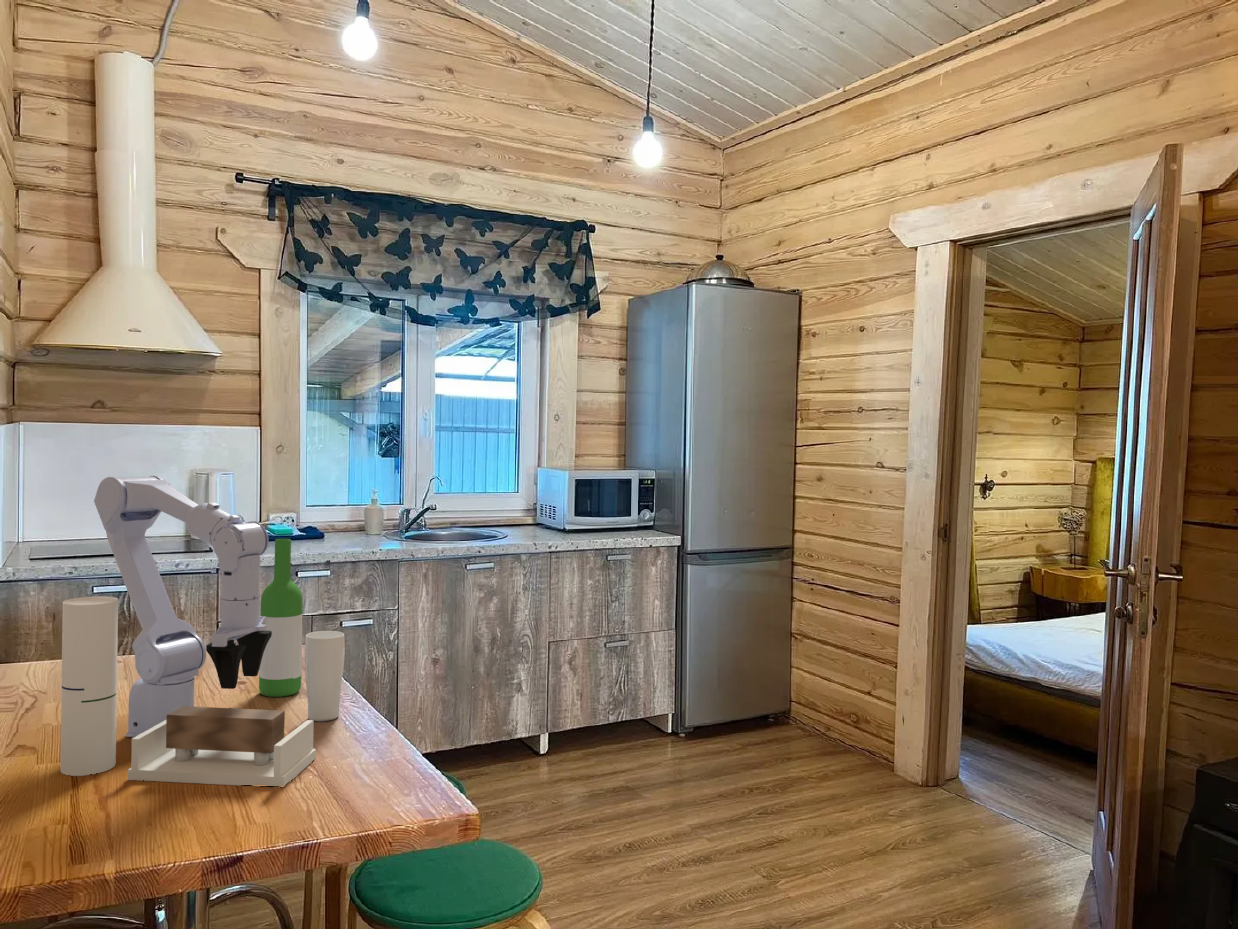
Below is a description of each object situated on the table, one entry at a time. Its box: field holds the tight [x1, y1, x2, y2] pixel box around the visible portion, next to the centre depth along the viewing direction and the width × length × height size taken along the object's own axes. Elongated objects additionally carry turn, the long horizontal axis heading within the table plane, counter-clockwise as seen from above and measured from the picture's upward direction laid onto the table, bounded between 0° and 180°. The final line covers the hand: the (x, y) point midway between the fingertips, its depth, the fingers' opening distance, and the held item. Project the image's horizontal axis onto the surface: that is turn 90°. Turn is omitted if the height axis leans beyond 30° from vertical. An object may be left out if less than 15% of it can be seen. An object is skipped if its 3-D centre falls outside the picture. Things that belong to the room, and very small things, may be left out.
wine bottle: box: [258, 538, 304, 698], centre depth 177 cm, size 8×8×30 cm
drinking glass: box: [304, 630, 346, 722], centre depth 162 cm, size 7×7×15 cm
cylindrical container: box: [60, 595, 119, 777], centre depth 136 cm, size 7×7×25 cm
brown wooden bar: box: [166, 706, 286, 753], centre depth 137 cm, size 16×4×5 cm, turn 87°
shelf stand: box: [127, 719, 317, 786], centre depth 137 cm, size 23×12×6 cm, turn 87°
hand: (239, 681), depth 147 cm, fingers open, 7 cm apart
